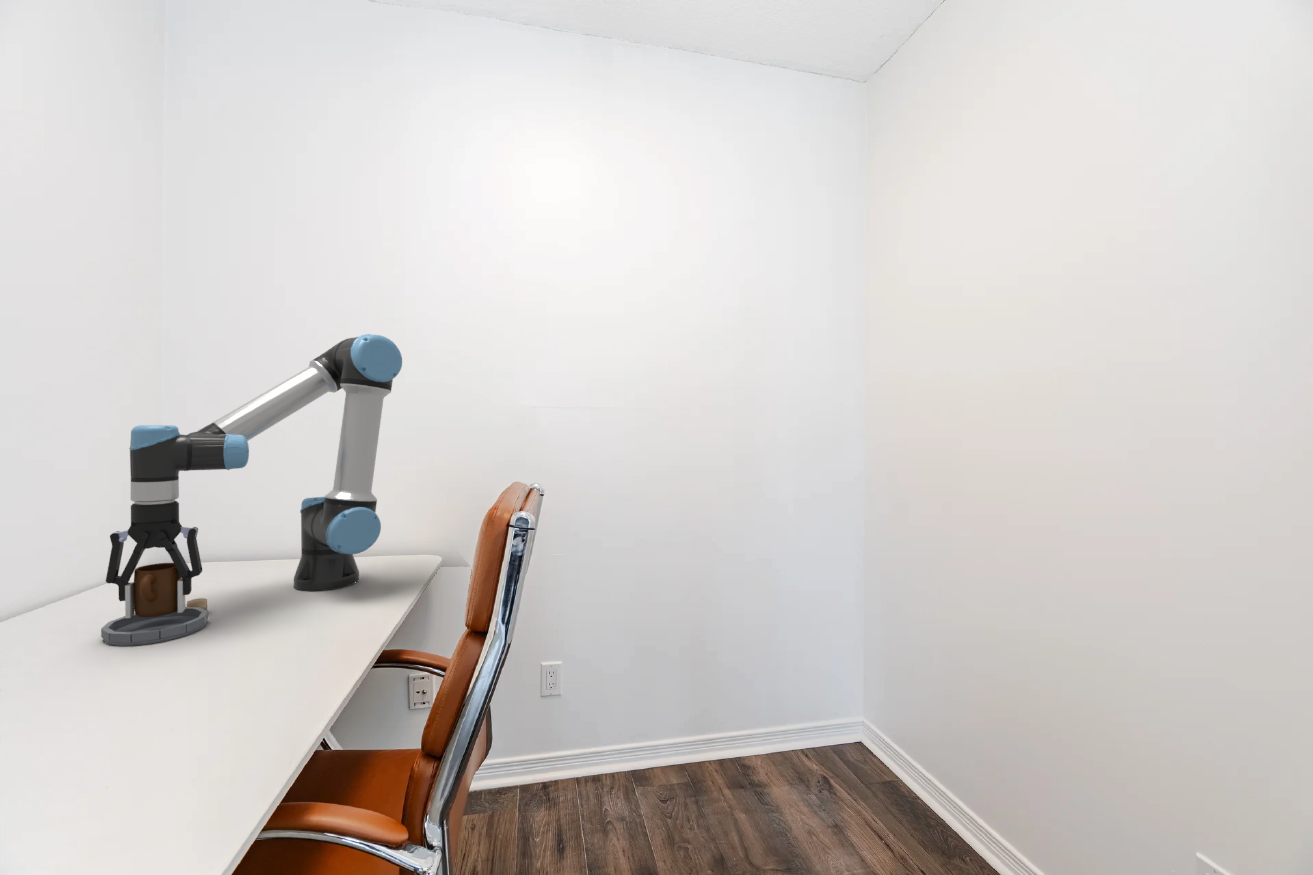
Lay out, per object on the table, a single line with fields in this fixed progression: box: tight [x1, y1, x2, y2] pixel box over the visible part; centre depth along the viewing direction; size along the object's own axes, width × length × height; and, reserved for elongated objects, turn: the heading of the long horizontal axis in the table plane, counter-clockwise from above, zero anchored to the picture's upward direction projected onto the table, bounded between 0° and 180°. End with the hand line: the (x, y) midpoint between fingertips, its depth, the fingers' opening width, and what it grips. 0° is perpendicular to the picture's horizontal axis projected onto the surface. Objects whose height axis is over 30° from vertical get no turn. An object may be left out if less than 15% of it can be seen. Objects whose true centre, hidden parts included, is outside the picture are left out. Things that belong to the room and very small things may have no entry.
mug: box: [133, 562, 182, 617], centre depth 122 cm, size 12×8×9 cm, turn 24°
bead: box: [186, 597, 208, 611], centre depth 134 cm, size 4×4×3 cm
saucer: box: [100, 606, 209, 647], centre depth 123 cm, size 16×16×2 cm
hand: (156, 613), depth 123 cm, fingers closed on mug, 8 cm apart
